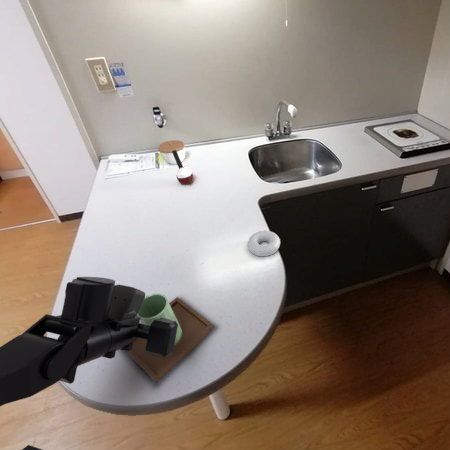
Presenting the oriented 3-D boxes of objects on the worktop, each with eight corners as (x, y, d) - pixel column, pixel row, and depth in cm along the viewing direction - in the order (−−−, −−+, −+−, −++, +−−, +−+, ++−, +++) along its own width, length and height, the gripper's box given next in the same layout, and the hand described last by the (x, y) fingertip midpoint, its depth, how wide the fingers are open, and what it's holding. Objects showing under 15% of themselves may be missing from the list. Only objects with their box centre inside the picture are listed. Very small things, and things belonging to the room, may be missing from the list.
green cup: (155, 354, 68) (136, 324, 60) (152, 331, 72) (133, 300, 65) (185, 341, 70) (170, 311, 63) (179, 320, 75) (165, 289, 67)
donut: (256, 233, 100) (242, 254, 92) (255, 225, 97) (241, 246, 90) (285, 240, 97) (273, 261, 90) (284, 232, 95) (272, 253, 88)
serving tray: (156, 383, 64) (154, 379, 63) (122, 346, 70) (119, 343, 69) (214, 328, 73) (212, 324, 72) (178, 300, 80) (177, 296, 78)
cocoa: (194, 186, 121) (186, 159, 113) (177, 189, 120) (169, 161, 112) (194, 174, 128) (187, 148, 120) (179, 176, 127) (171, 150, 119)
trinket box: (183, 153, 143) (178, 134, 137) (191, 162, 136) (186, 142, 130) (160, 160, 138) (153, 140, 132) (167, 169, 132) (160, 149, 125)
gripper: (155, 301, 49) (202, 290, 65) (60, 281, 53) (125, 276, 68) (142, 371, 49) (192, 344, 64) (45, 347, 52) (115, 326, 67)
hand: (155, 320), depth 66 cm, fingers open, 9 cm apart
